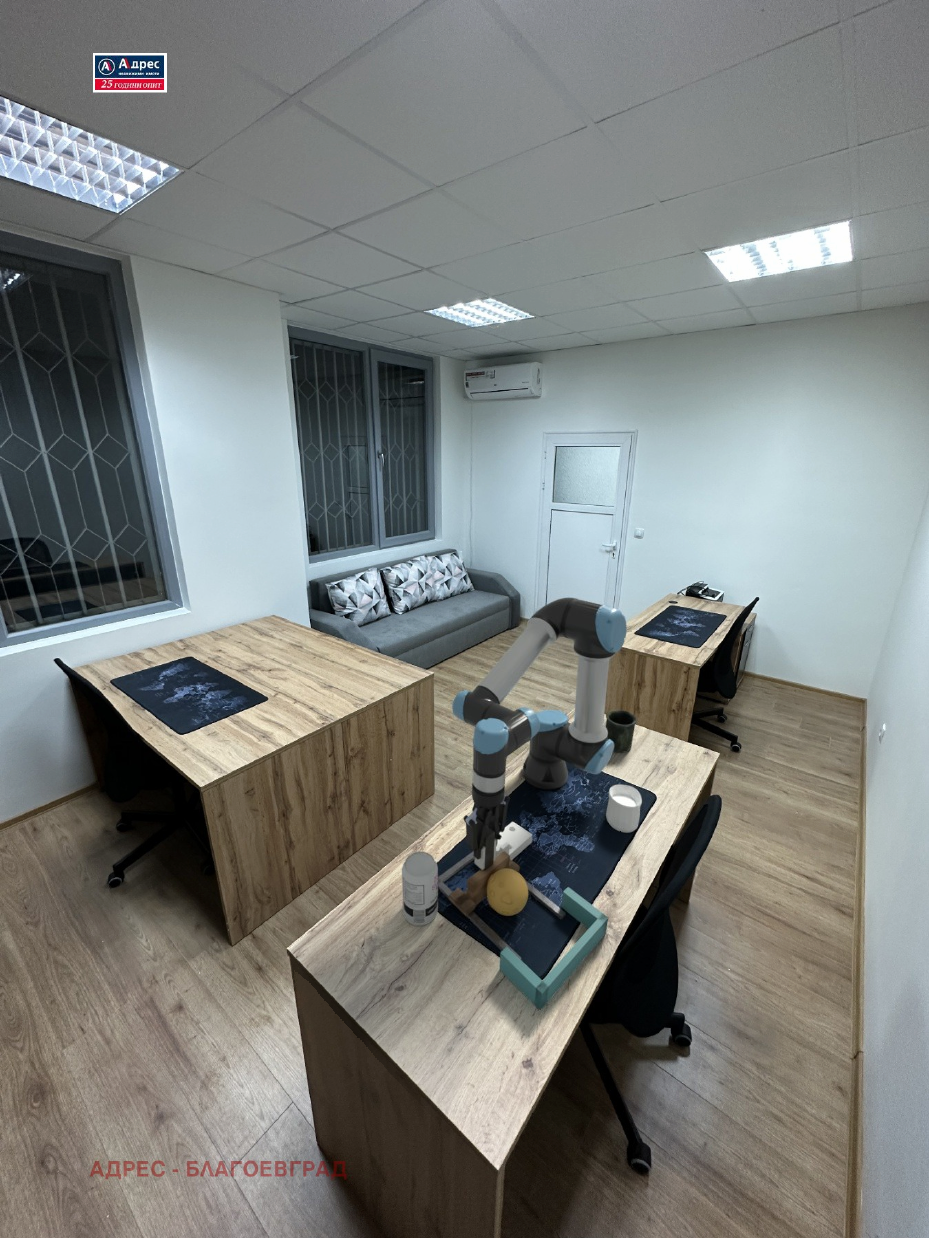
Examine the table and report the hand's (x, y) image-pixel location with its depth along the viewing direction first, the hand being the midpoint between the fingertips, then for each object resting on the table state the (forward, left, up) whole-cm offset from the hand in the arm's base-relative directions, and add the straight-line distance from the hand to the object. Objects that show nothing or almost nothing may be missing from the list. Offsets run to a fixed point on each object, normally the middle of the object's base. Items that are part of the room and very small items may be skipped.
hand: (485, 861), depth 120 cm
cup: (-47, +12, -9) cm, 49 cm away
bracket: (-14, -4, -9) cm, 17 cm away
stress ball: (0, +7, -9) cm, 11 cm away
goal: (0, +22, -9) cm, 24 cm away
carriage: (0, 0, -8) cm, 8 cm away
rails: (0, +5, -9) cm, 10 cm away
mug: (-83, -10, -9) cm, 84 cm away
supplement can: (+16, -5, -9) cm, 19 cm away
